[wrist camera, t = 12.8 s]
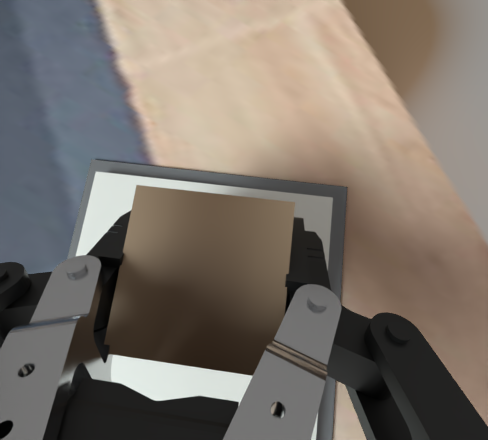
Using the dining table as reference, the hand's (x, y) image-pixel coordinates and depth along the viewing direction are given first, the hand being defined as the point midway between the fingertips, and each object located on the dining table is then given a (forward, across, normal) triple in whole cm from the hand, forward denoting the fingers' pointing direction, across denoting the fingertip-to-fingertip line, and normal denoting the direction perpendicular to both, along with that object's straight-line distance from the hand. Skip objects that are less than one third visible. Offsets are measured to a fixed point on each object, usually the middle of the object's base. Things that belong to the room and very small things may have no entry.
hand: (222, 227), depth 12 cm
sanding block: (+1, 0, +4) cm, 4 cm away
